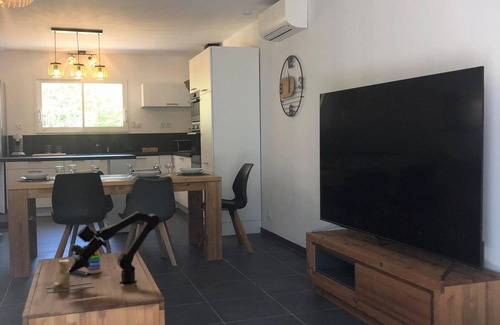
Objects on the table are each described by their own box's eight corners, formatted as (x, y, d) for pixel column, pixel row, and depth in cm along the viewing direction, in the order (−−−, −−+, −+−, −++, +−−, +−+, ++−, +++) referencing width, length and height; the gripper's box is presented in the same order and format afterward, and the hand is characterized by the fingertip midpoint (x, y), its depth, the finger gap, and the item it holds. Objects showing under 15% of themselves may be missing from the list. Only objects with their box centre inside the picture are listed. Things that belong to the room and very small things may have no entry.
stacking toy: (97, 274, 293) (96, 240, 292) (84, 273, 295) (83, 240, 294) (104, 270, 301) (103, 238, 300) (91, 270, 303) (90, 237, 302)
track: (91, 284, 273) (91, 282, 273) (93, 288, 265) (93, 286, 265) (46, 290, 264) (46, 287, 264) (46, 294, 257) (46, 291, 257)
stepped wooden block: (68, 286, 267) (68, 259, 266) (69, 289, 262) (69, 261, 261) (54, 288, 264) (53, 260, 264) (54, 291, 259) (53, 262, 258)
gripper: (77, 234, 274) (55, 258, 270) (81, 241, 257) (58, 266, 253) (93, 248, 278) (72, 271, 274) (99, 255, 261) (76, 280, 257)
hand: (69, 272), depth 264 cm, fingers closed, pressing on stepped wooden block
